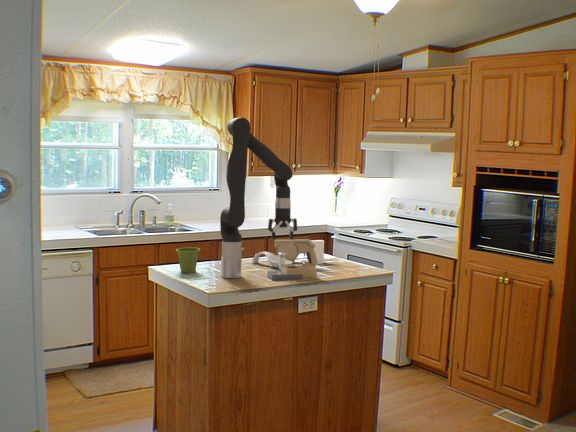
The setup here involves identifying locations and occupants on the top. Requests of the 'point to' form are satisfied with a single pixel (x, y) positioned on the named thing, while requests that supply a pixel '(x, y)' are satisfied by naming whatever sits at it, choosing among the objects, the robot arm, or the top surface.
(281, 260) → the pin
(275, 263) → the spoon rest
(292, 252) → the gun
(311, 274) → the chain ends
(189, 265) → the plant pot
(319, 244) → the base with upright slab
